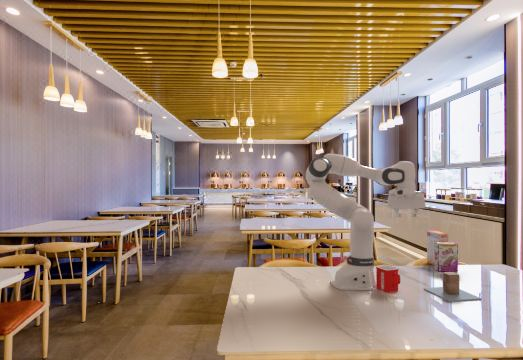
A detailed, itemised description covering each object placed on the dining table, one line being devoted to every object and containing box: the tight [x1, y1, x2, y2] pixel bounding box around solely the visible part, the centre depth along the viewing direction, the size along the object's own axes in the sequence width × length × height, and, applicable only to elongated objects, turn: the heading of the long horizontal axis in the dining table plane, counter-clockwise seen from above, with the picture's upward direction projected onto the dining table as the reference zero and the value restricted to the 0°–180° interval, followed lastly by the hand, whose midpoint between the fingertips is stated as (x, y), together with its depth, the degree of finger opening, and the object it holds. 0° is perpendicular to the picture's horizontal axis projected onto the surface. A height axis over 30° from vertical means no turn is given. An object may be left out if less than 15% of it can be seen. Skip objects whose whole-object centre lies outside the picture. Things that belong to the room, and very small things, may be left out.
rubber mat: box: [423, 286, 482, 303], centre depth 143 cm, size 16×16×1 cm
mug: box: [375, 264, 401, 294], centre depth 148 cm, size 12×8×11 cm
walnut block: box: [442, 272, 460, 295], centre depth 143 cm, size 4×5×9 cm
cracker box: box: [426, 229, 449, 266], centre depth 193 cm, size 14×6×21 cm, turn 179°
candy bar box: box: [433, 242, 459, 273], centre depth 181 cm, size 11×5×16 cm, turn 84°
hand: (406, 217), depth 166 cm, fingers open, 8 cm apart
